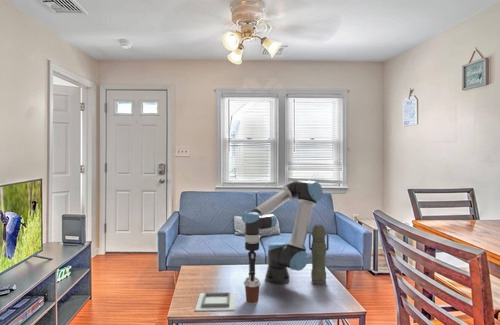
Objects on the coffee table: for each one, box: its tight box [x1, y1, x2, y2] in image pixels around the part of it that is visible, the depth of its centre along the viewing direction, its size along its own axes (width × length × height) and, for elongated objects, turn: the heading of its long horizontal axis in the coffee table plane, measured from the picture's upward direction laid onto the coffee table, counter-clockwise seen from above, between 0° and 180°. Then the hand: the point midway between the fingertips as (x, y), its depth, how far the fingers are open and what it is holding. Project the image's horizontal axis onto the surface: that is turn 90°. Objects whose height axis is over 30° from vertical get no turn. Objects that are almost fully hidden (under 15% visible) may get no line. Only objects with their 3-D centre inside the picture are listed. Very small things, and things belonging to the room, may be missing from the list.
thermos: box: [308, 224, 330, 286], centre depth 195 cm, size 9×12×35 cm
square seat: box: [194, 291, 237, 312], centre depth 168 cm, size 20×20×2 cm
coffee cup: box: [243, 276, 262, 305], centre depth 168 cm, size 9×9×12 cm
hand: (251, 281), depth 168 cm, fingers open, 13 cm apart
